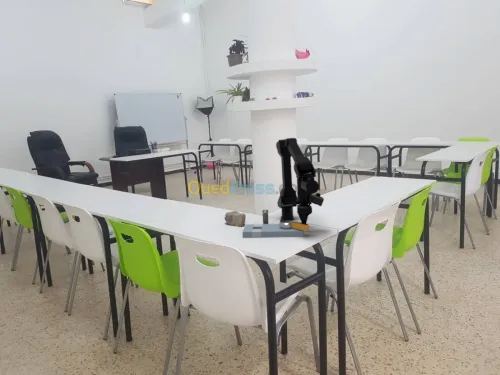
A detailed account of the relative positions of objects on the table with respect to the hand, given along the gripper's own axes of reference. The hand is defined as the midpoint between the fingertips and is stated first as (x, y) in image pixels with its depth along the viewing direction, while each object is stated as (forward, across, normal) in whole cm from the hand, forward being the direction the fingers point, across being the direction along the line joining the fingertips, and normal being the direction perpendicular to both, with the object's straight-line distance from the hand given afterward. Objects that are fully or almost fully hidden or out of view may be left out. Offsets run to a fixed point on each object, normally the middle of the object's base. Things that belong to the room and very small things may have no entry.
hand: (304, 223), depth 172 cm
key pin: (+4, +8, +18) cm, 20 cm away
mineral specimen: (+4, +14, +33) cm, 36 cm away
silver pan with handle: (+1, -4, +5) cm, 6 cm away
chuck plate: (+4, -2, +14) cm, 14 cm away
